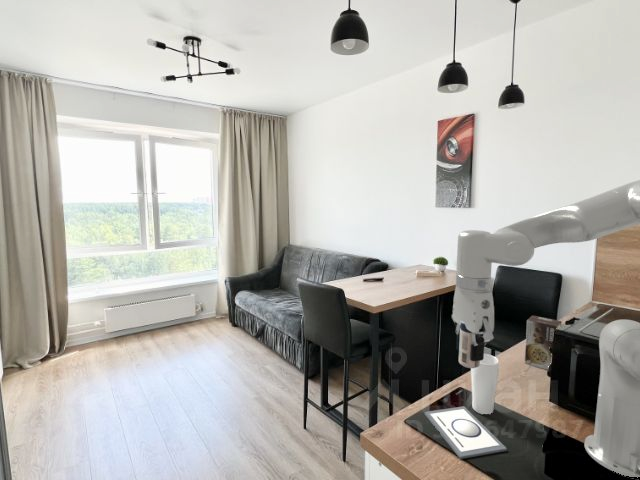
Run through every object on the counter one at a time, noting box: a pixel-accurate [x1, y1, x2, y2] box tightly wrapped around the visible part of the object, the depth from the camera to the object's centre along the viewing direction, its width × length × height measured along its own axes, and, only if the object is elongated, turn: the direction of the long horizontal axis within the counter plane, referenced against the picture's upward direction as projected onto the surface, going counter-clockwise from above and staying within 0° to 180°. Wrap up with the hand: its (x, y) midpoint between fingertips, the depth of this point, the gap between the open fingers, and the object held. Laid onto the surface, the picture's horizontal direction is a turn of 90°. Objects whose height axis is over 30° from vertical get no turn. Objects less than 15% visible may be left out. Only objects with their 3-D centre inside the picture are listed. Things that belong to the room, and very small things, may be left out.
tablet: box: [423, 405, 508, 460], centre depth 87 cm, size 16×12×1 cm
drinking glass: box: [470, 353, 500, 415], centre depth 94 cm, size 7×7×15 cm
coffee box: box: [524, 314, 562, 371], centre depth 119 cm, size 9×6×16 cm
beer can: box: [458, 321, 480, 369], centre depth 84 cm, size 5×5×12 cm
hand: (469, 354), depth 84 cm, fingers closed on beer can, 4 cm apart
